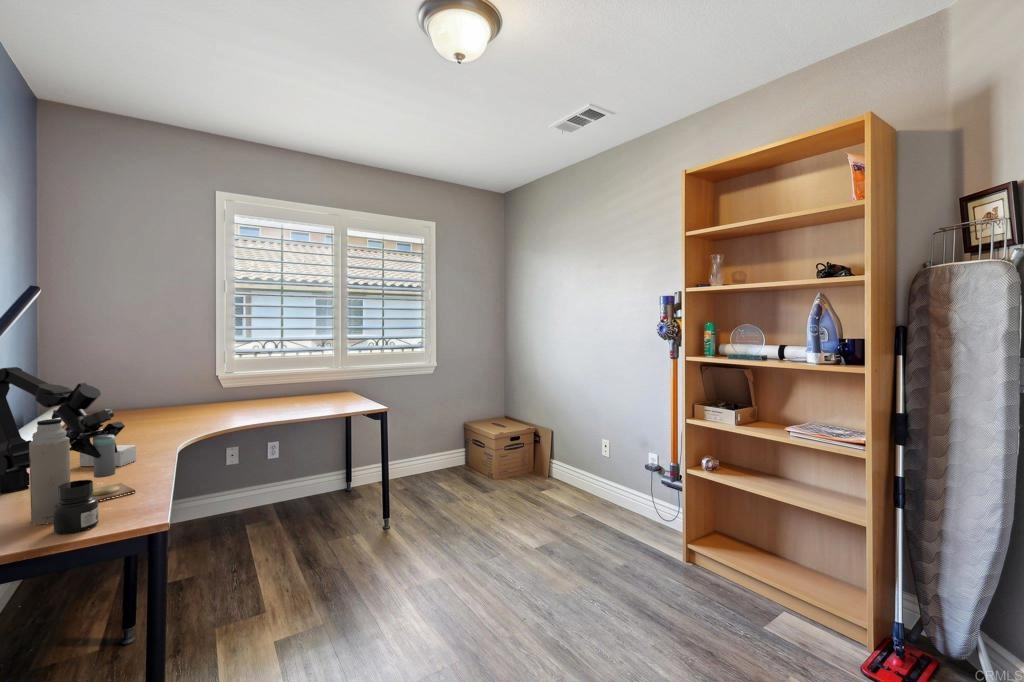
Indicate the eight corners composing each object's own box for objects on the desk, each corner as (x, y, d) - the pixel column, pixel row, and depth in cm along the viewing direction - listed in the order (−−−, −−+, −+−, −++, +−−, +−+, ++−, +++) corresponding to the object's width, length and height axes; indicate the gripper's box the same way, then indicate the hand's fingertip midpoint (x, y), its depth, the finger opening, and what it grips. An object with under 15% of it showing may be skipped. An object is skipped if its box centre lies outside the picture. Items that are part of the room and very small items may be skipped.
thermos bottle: (24, 527, 126) (22, 423, 125) (40, 515, 133) (38, 418, 132) (63, 522, 129) (60, 421, 128) (76, 511, 136) (74, 416, 135)
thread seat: (87, 504, 142) (86, 499, 141) (73, 496, 148) (73, 491, 148) (135, 493, 152) (135, 488, 152) (120, 485, 158) (120, 481, 158)
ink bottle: (94, 531, 124) (93, 486, 124) (49, 538, 119) (47, 492, 119) (101, 518, 132) (101, 476, 132) (59, 525, 128) (58, 481, 127)
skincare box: (79, 466, 178) (119, 468, 178) (78, 449, 178) (119, 450, 177) (98, 460, 186) (137, 461, 186) (98, 443, 186) (137, 444, 186)
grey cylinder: (92, 478, 146) (91, 439, 145) (94, 474, 150) (93, 435, 150) (114, 475, 149) (114, 436, 149) (116, 471, 153) (116, 433, 153)
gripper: (61, 407, 140) (94, 445, 139) (119, 397, 158) (149, 431, 158) (38, 432, 141) (71, 470, 140) (98, 419, 160) (128, 453, 159)
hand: (108, 454), depth 149 cm, fingers closed on grey cylinder, 5 cm apart
